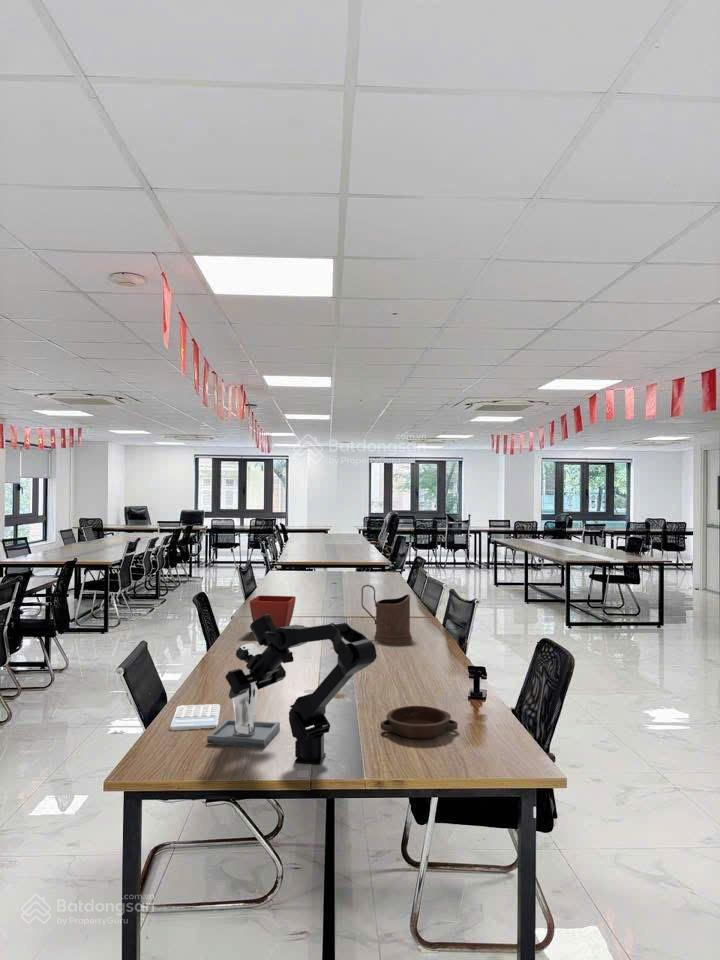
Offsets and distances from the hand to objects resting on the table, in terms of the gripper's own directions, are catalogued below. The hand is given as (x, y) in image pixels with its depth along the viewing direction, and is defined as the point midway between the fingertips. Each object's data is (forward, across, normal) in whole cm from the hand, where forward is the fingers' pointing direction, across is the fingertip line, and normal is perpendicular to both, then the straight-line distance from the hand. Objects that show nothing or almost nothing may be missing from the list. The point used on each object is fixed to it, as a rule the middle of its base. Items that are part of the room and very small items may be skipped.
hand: (241, 693), depth 192 cm
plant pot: (+72, -111, -55) cm, 143 cm away
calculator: (+24, -3, -7) cm, 25 cm away
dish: (-18, -33, +36) cm, 52 cm away
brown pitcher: (+36, -134, -19) cm, 140 cm away
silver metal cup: (+6, 0, +9) cm, 11 cm away
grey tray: (+7, 0, +9) cm, 12 cm away
